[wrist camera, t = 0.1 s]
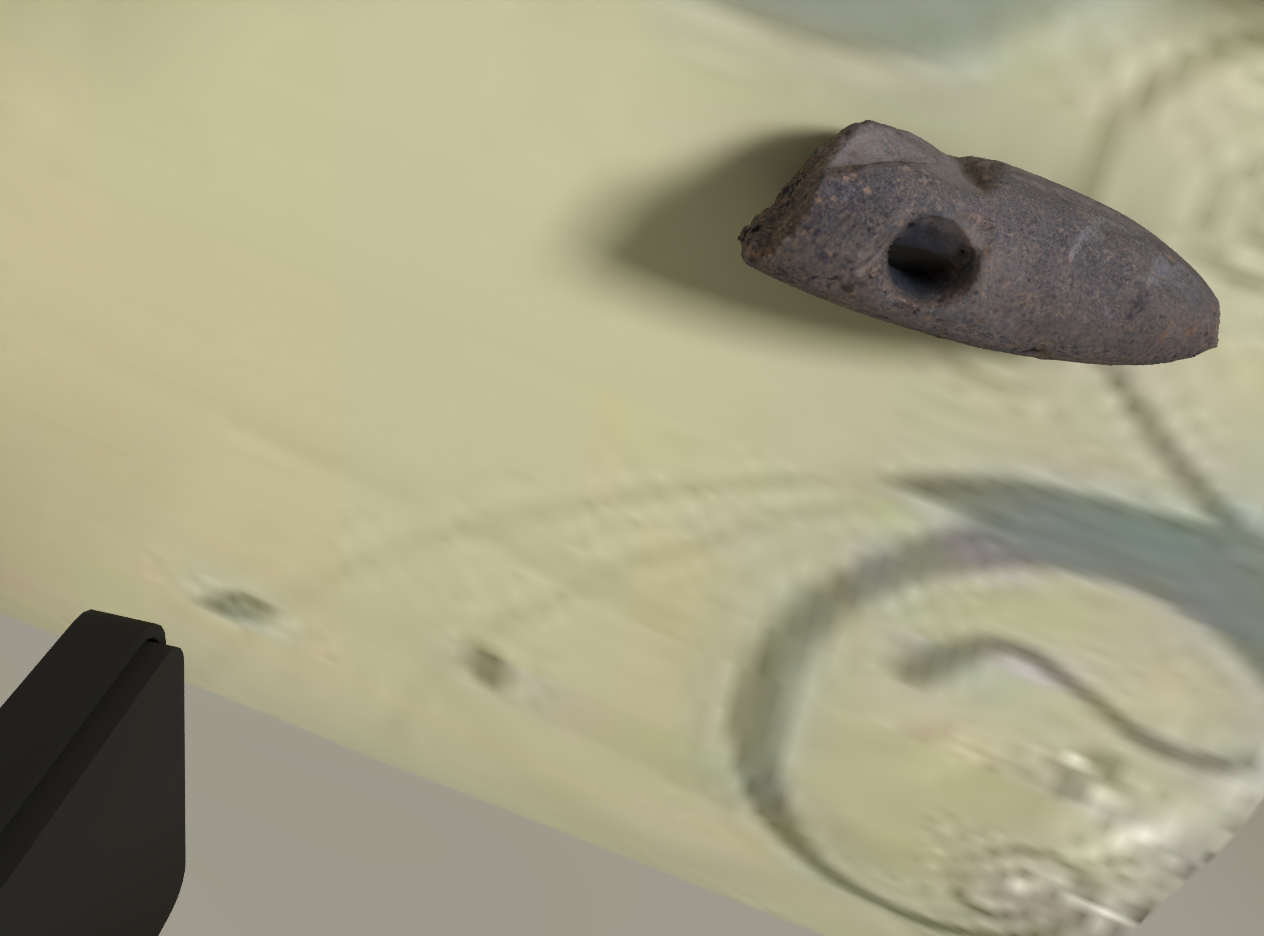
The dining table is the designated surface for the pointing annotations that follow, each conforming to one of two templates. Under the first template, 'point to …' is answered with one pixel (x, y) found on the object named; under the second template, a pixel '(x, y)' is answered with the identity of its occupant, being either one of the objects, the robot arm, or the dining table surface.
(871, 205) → the perforated stone tool
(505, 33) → the dining table surface
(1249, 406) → the dining table surface
